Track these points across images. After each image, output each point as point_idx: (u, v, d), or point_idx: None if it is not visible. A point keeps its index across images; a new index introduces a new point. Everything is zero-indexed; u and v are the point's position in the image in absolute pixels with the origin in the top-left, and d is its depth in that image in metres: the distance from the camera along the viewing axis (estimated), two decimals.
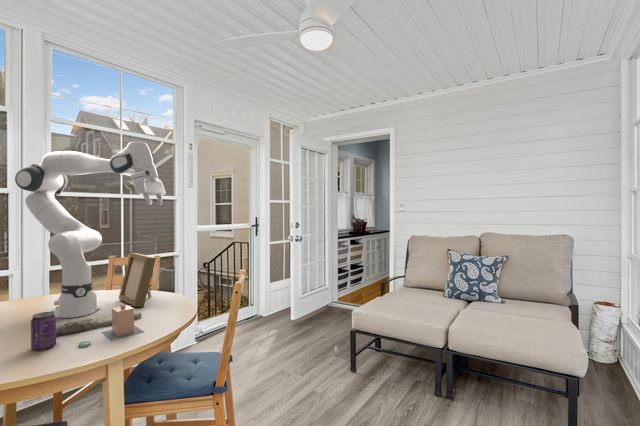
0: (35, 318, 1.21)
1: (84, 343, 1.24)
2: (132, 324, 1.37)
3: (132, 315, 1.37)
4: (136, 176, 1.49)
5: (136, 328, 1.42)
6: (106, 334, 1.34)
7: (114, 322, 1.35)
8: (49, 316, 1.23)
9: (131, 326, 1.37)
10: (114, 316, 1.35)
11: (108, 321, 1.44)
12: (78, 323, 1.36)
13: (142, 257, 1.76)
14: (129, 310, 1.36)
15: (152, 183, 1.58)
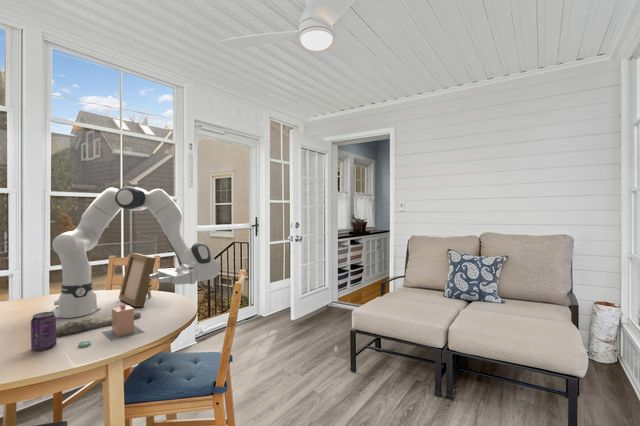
0: (35, 318, 1.21)
1: (84, 343, 1.24)
2: (132, 324, 1.37)
3: (132, 315, 1.37)
4: (192, 276, 1.49)
5: (136, 328, 1.42)
6: (106, 334, 1.34)
7: (114, 322, 1.35)
8: (49, 316, 1.23)
9: (131, 326, 1.37)
10: (114, 316, 1.35)
11: (108, 321, 1.45)
12: (79, 323, 1.36)
13: (142, 257, 1.76)
14: (129, 310, 1.36)
15: None
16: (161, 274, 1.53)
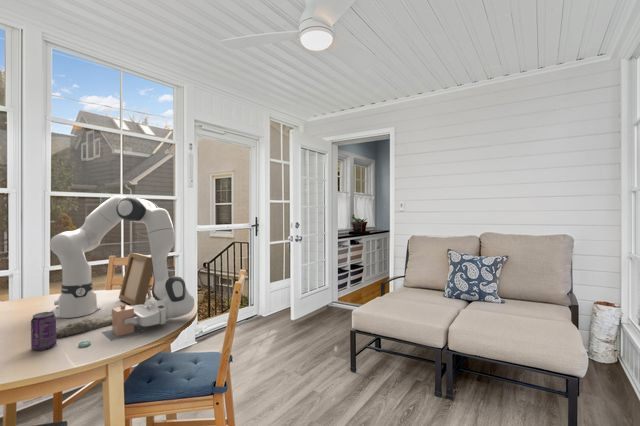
0: (35, 318, 1.21)
1: (84, 343, 1.24)
2: (132, 324, 1.37)
3: (132, 315, 1.37)
4: (162, 316, 1.40)
5: (136, 328, 1.42)
6: (106, 334, 1.34)
7: (114, 322, 1.35)
8: (49, 316, 1.23)
9: (131, 326, 1.37)
10: (114, 316, 1.35)
11: (109, 320, 1.45)
12: (82, 323, 1.36)
13: (142, 257, 1.76)
14: (129, 310, 1.36)
15: None
16: None
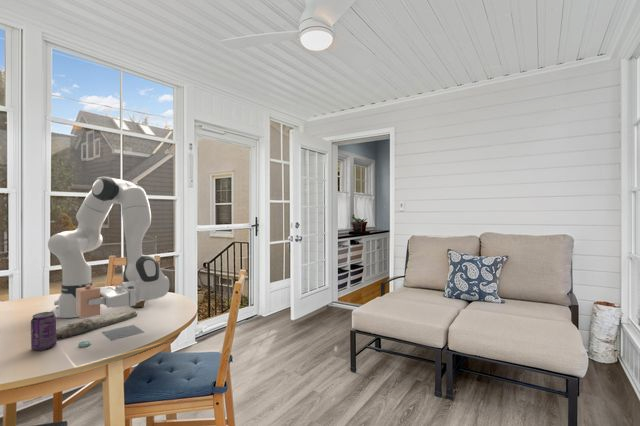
0: (35, 318, 1.21)
1: (84, 343, 1.24)
2: (98, 306, 1.25)
3: (98, 296, 1.25)
4: (131, 297, 1.28)
5: (136, 328, 1.42)
6: (106, 334, 1.34)
7: (78, 303, 1.23)
8: (49, 316, 1.23)
9: (97, 308, 1.25)
10: (78, 297, 1.23)
11: (110, 320, 1.46)
12: (84, 323, 1.36)
13: None
14: (94, 290, 1.24)
15: None
16: None
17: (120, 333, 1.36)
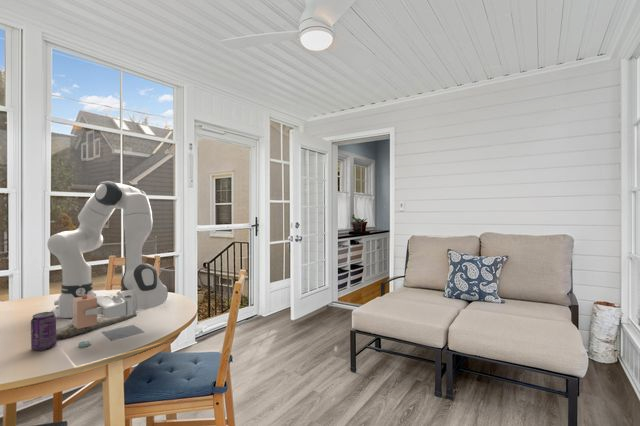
0: (35, 318, 1.21)
1: (84, 343, 1.24)
2: (95, 315, 1.24)
3: (95, 305, 1.24)
4: (128, 306, 1.27)
5: (136, 328, 1.42)
6: (106, 334, 1.34)
7: (74, 313, 1.22)
8: (49, 316, 1.23)
9: (94, 318, 1.24)
10: (74, 307, 1.22)
11: (110, 320, 1.46)
12: None
13: (142, 257, 1.76)
14: (91, 300, 1.23)
15: None
16: None
17: (120, 333, 1.36)
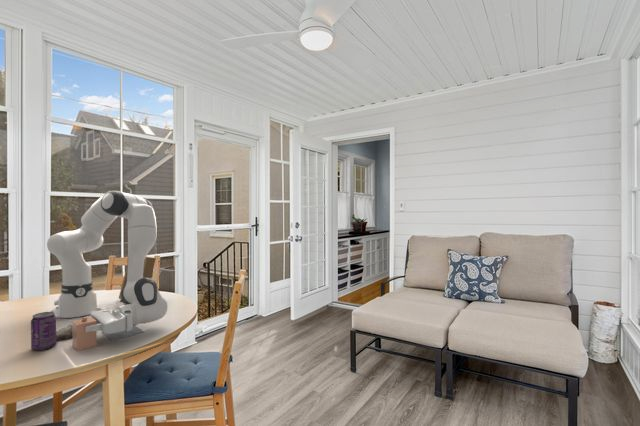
0: (35, 318, 1.21)
1: None
2: (94, 338, 1.24)
3: None
4: (128, 322, 1.27)
5: (136, 328, 1.42)
6: (106, 334, 1.34)
7: (74, 336, 1.22)
8: (49, 316, 1.23)
9: (93, 340, 1.24)
10: (74, 330, 1.22)
11: None
12: None
13: None
14: (91, 323, 1.23)
15: None
16: None
17: (120, 333, 1.36)
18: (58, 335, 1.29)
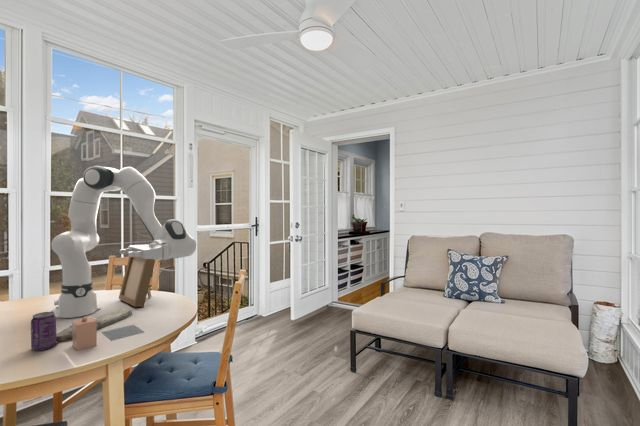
0: (35, 318, 1.21)
1: None
2: (94, 338, 1.24)
3: (94, 328, 1.24)
4: (164, 251, 1.42)
5: (136, 328, 1.42)
6: (106, 334, 1.34)
7: (74, 336, 1.22)
8: (49, 316, 1.23)
9: (93, 340, 1.24)
10: (74, 330, 1.22)
11: (111, 319, 1.47)
12: None
13: None
14: (91, 323, 1.23)
15: None
16: (132, 249, 1.46)
17: (120, 333, 1.36)
18: (64, 336, 1.28)
